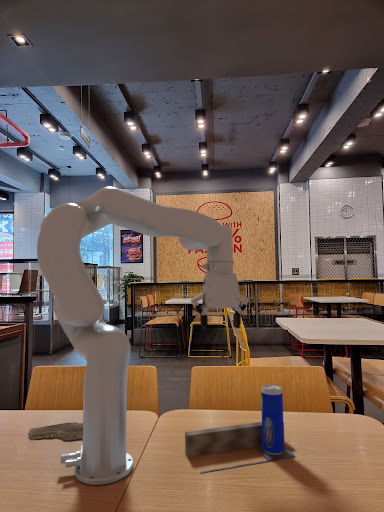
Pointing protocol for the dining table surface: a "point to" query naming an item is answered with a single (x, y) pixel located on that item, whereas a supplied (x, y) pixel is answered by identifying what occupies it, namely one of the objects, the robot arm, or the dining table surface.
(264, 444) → the beverage can
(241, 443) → the guide fence
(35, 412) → the dining table surface
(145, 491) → the dining table surface
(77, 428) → the wooden fragment
